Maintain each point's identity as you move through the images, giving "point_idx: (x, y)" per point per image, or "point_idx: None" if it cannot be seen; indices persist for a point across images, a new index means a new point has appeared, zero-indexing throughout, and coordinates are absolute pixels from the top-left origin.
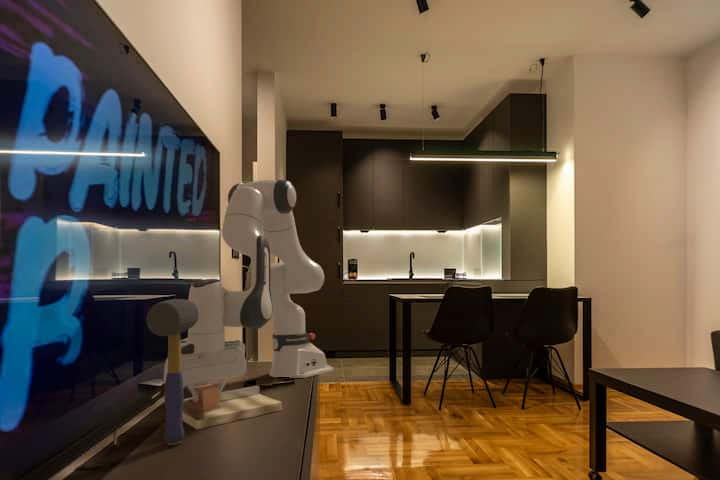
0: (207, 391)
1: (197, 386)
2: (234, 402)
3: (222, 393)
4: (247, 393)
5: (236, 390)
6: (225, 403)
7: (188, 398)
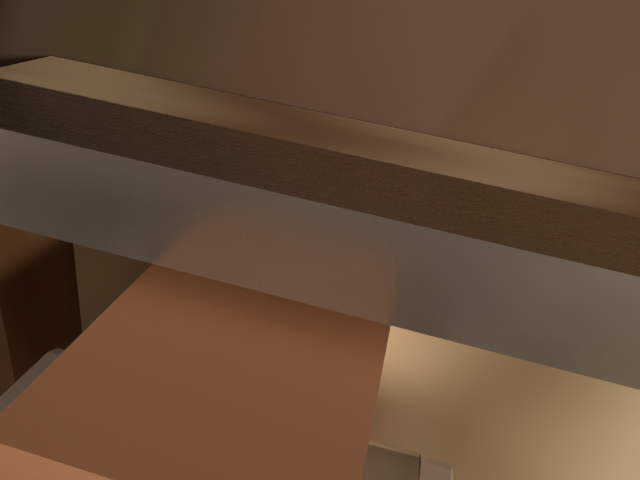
0: None
1: (14, 455)
2: (615, 473)
3: (637, 384)
4: None
5: None
6: (515, 418)
7: (47, 162)
